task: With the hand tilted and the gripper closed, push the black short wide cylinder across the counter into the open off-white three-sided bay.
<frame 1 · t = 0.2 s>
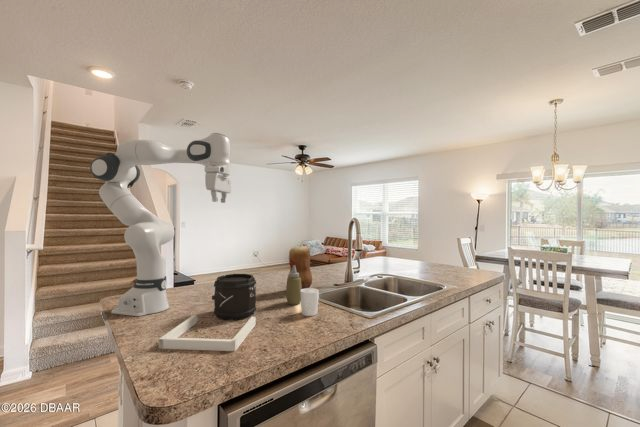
hand: (219, 202, 132), 48 cm above the worktop, tool pointing down, fingers open, 8 cm apart
bay: (211, 335, 106), on the worktop
black short wide cylinder: (234, 314, 128), on the worktop
squeeze bottle: (293, 303, 144), on the worktop
white cup: (309, 314, 129), on the worktop
butternut squash: (300, 291, 164), on the worktop
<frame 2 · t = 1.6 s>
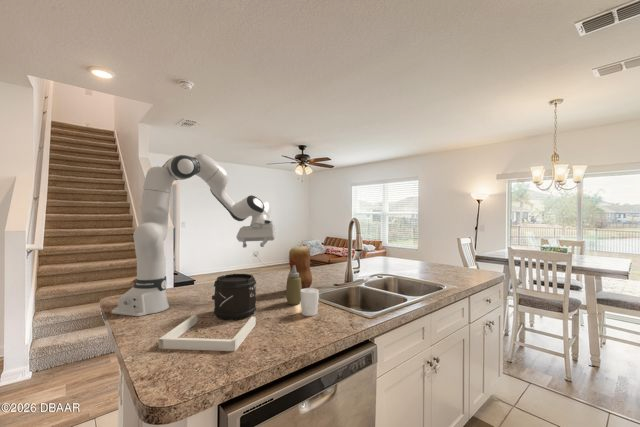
hand: (253, 246, 152), 26 cm above the worktop, tool tilted 45°, fingers open, 8 cm apart
nothing on the worktop moved.
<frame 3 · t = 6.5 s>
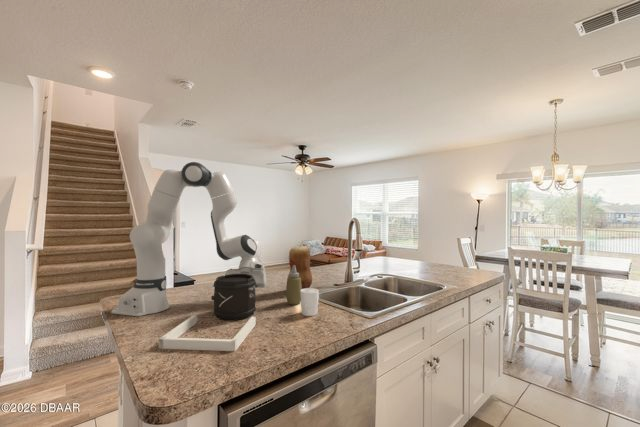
hand: (241, 294, 137), 6 cm above the worktop, tool tilted 45°, fingers closed
black short wide cylinder: (233, 314, 128), on the worktop, touching gripper
everything else where it was.
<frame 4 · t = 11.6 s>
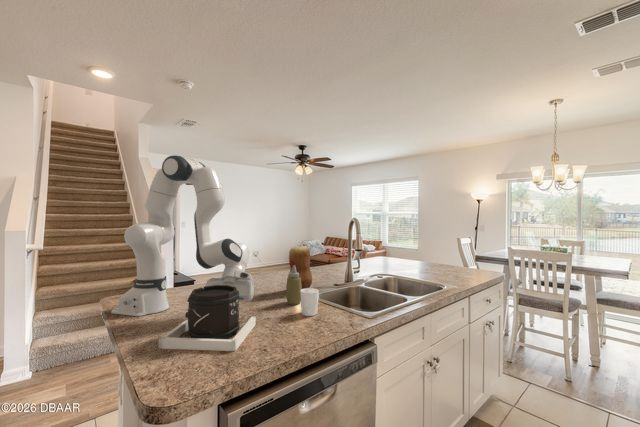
hand: (223, 309, 116), 6 cm above the worktop, tool tilted 45°, fingers closed
black short wide cylinder: (213, 334, 107), on the worktop
everything else where it was.
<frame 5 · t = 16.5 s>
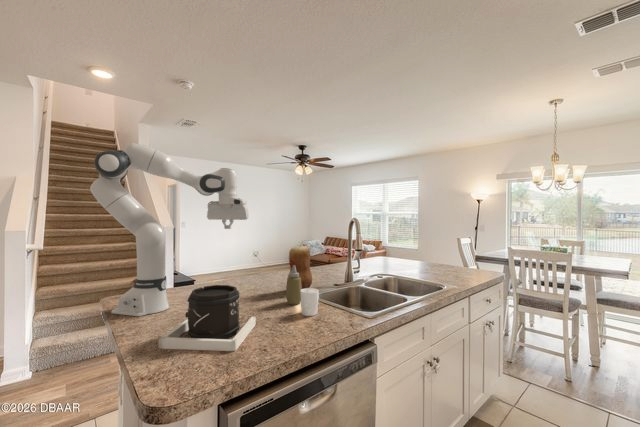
hand: (227, 228, 150), 35 cm above the worktop, tool pointing down, fingers closed
nothing on the worktop moved.
at the end: black short wide cylinder inside the target area (2.8 cm from its centre), on the worktop; black short wide cylinder tilted 0° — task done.
